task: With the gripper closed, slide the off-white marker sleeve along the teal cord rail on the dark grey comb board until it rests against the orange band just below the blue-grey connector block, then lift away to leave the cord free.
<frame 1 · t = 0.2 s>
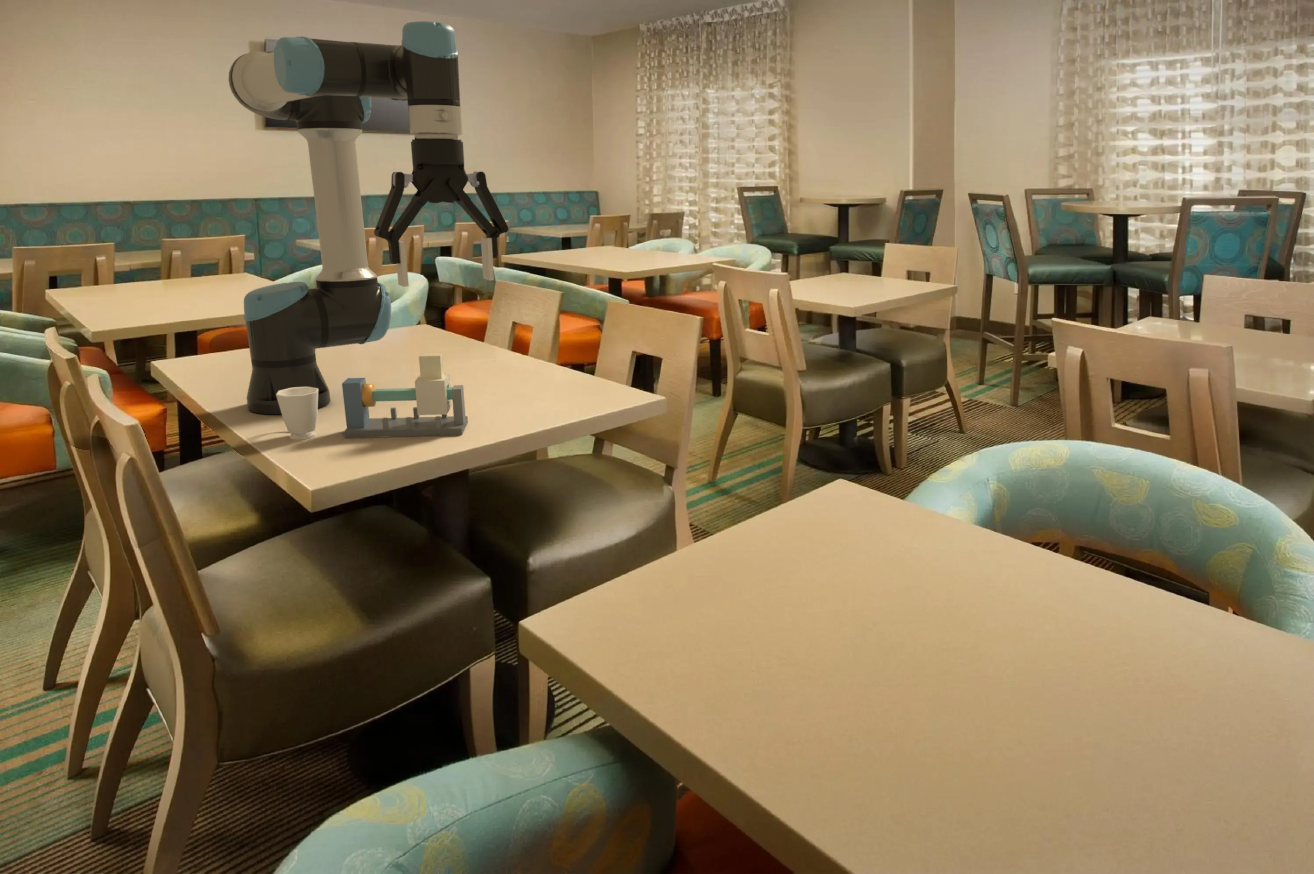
hand: (447, 282, 136), 27 cm above the table, fingers open, 13 cm apart
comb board: (408, 429, 156), on the table
sleeve: (432, 382, 154), point 9 cm above the table, slide at 0.0 cm
cup: (300, 435, 154), on the table
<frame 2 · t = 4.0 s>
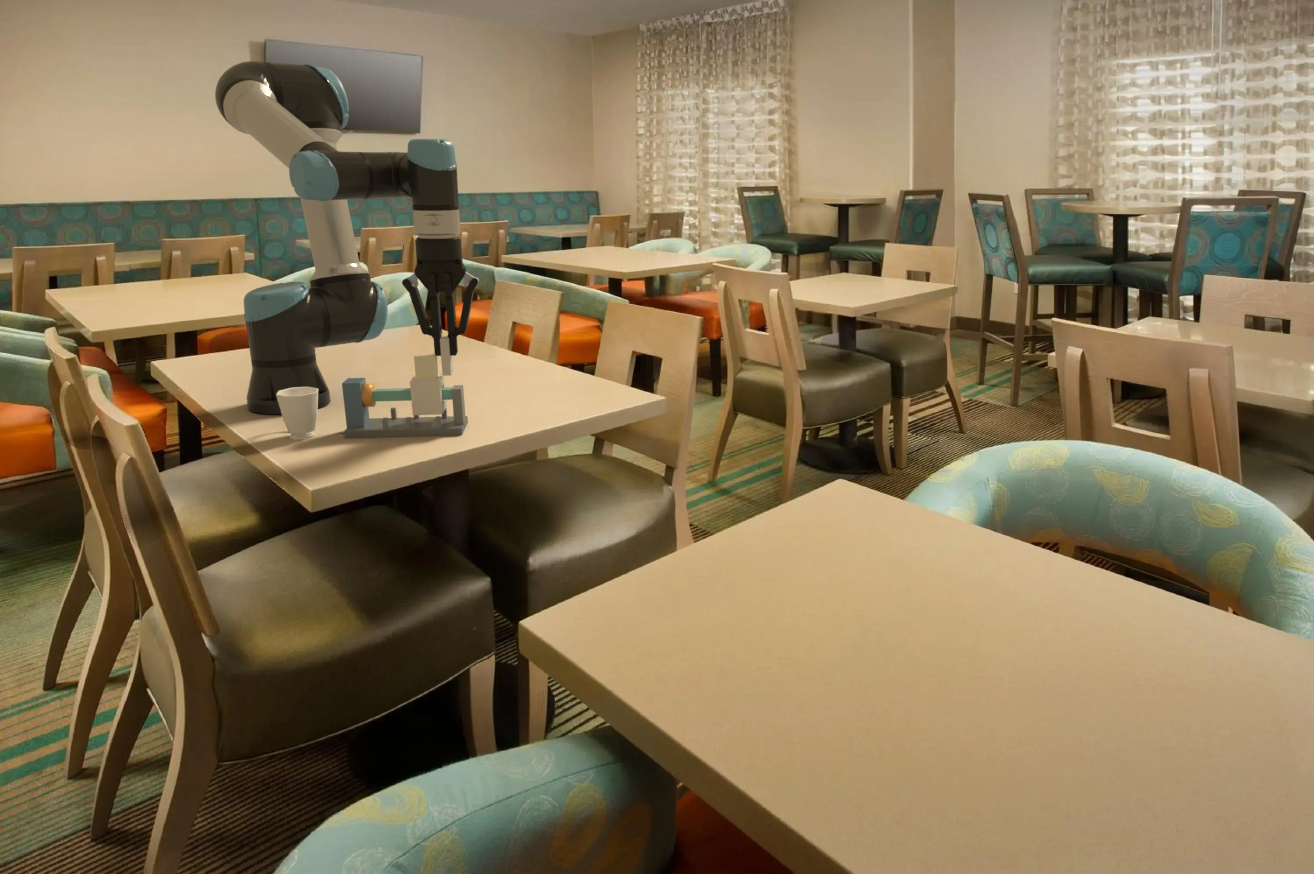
hand: (447, 373, 154), 10 cm above the table, fingers closed
sleeve: (428, 382, 154), point 9 cm above the table, slide at 0.9 cm, touching gripper
everything else where it was.
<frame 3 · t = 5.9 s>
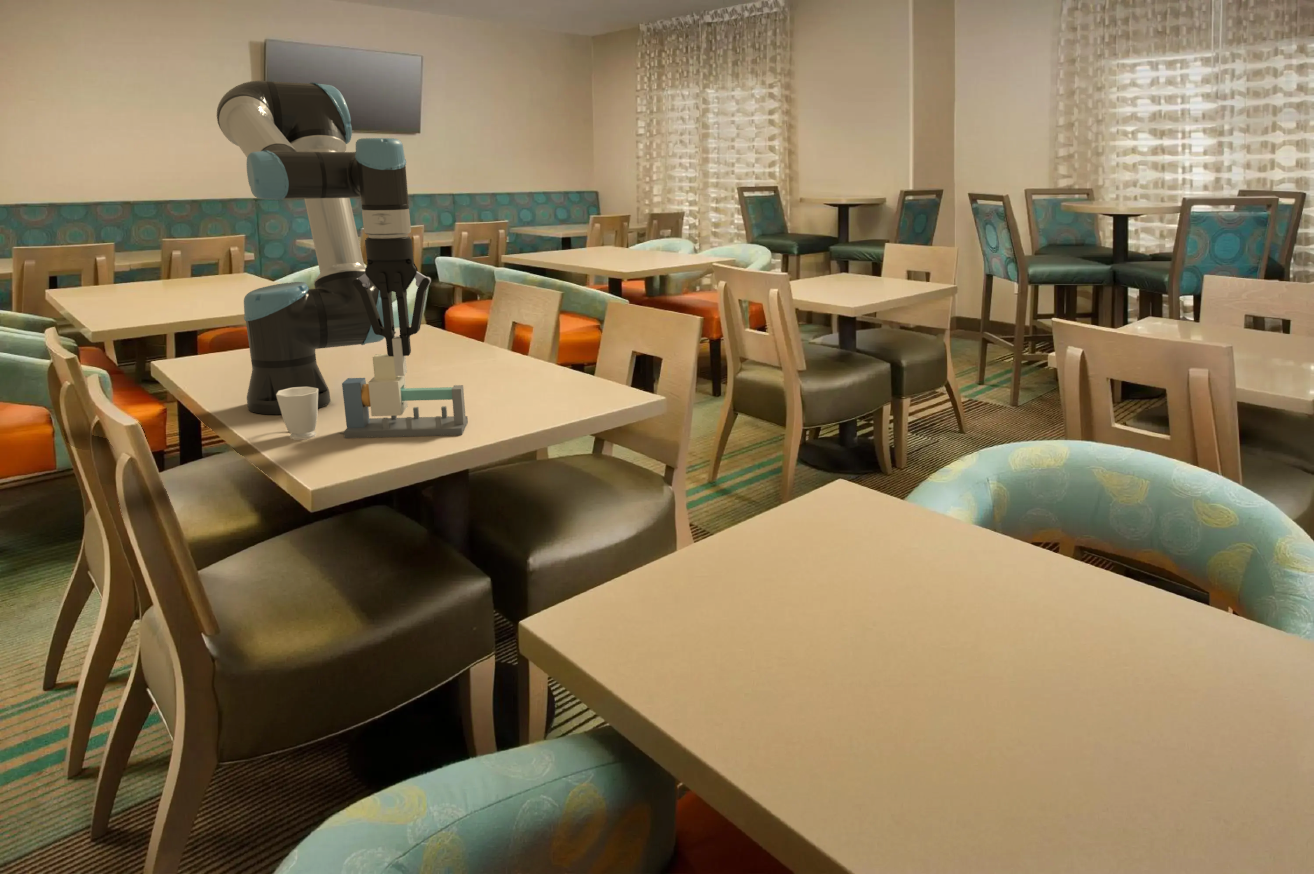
hand: (401, 374, 153), 10 cm above the table, fingers closed
sleeve: (387, 383, 153), point 9 cm above the table, slide at 7.8 cm, touching gripper
everything else where it was.
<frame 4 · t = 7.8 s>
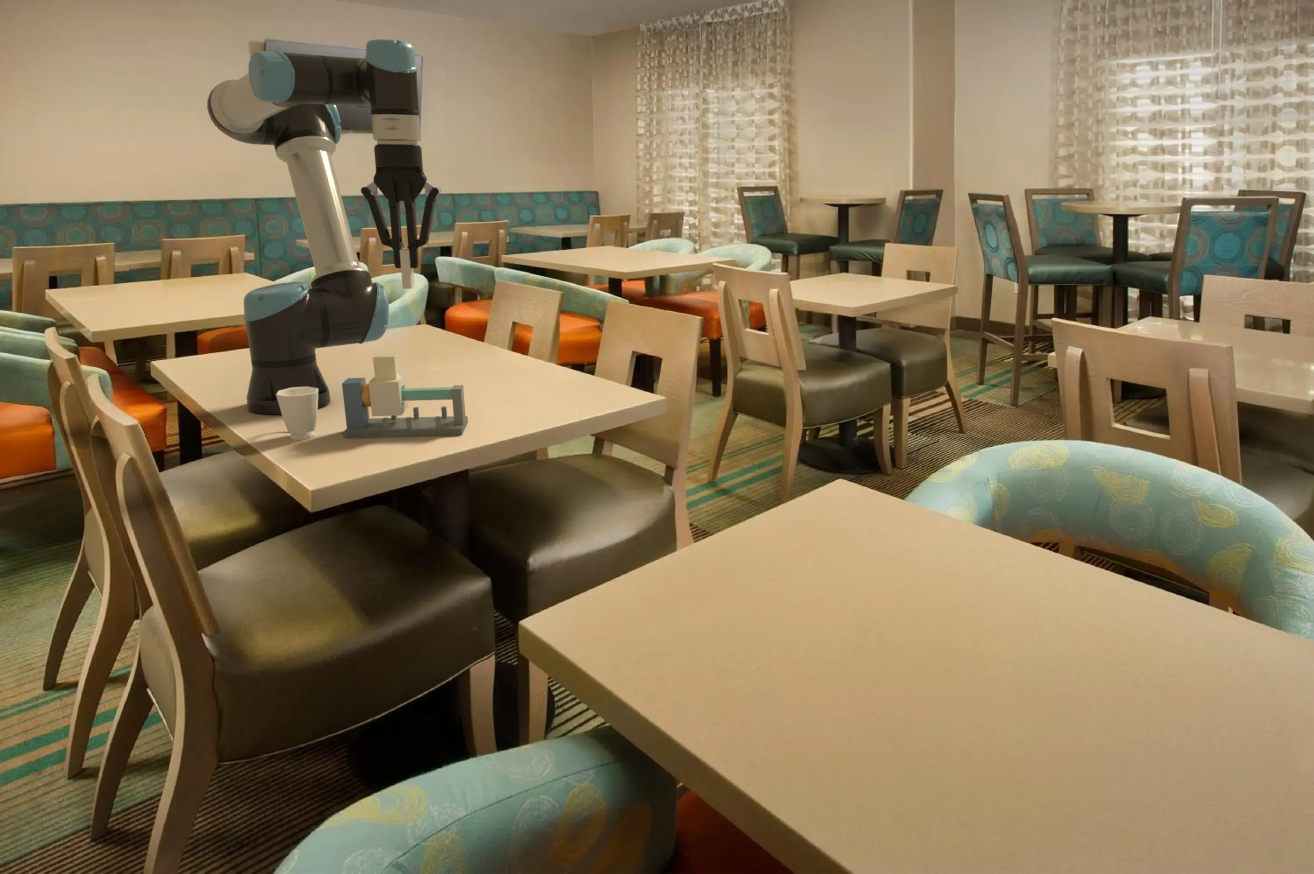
hand: (408, 287, 151), 25 cm above the table, fingers closed
sleeve: (387, 383, 153), point 9 cm above the table, slide at 7.8 cm
everything else where it was.
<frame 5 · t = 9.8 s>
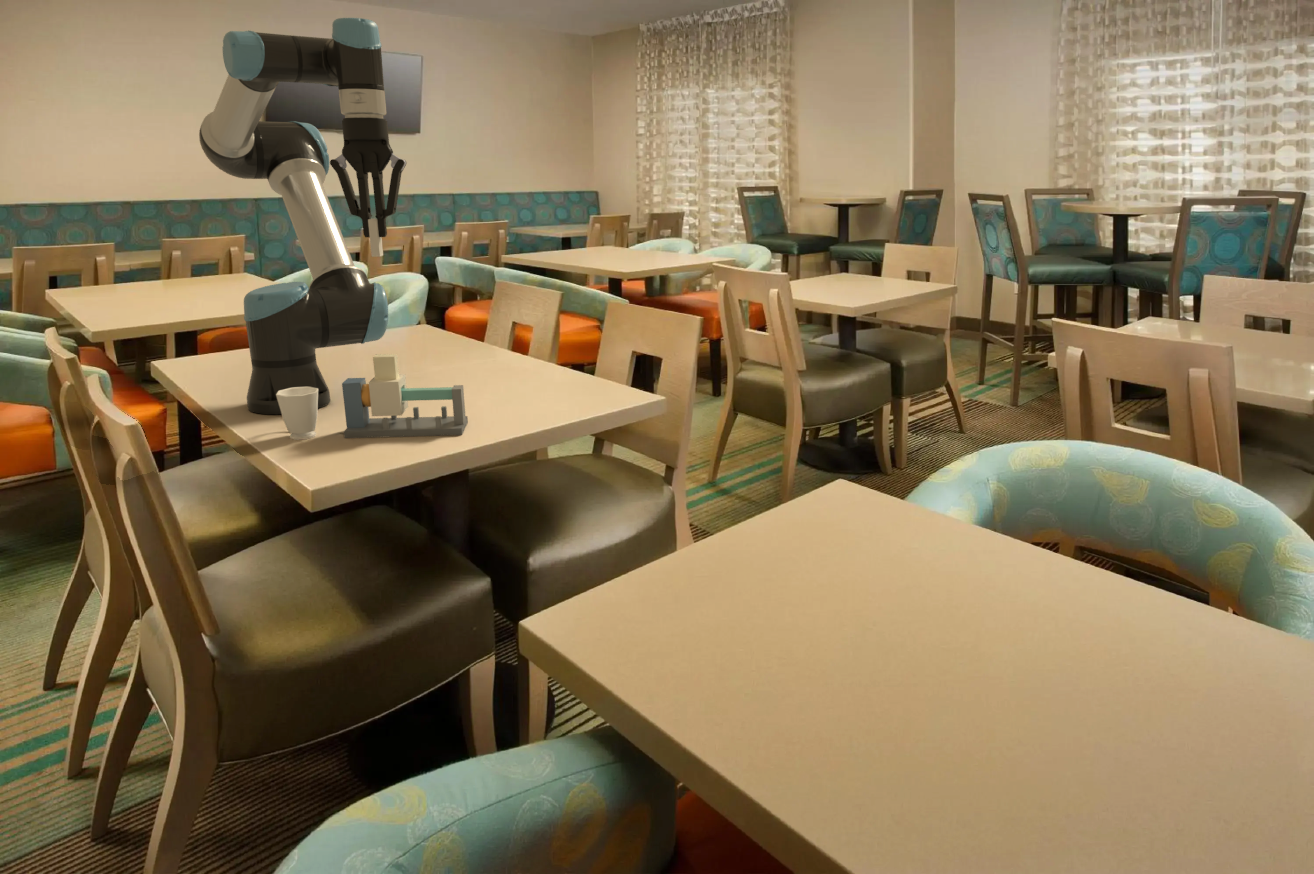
hand: (377, 255, 158), 29 cm above the table, fingers closed
nothing on the table moved.
at the end: sleeve slide at 7.8 cm; the gripper is holding nothing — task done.
